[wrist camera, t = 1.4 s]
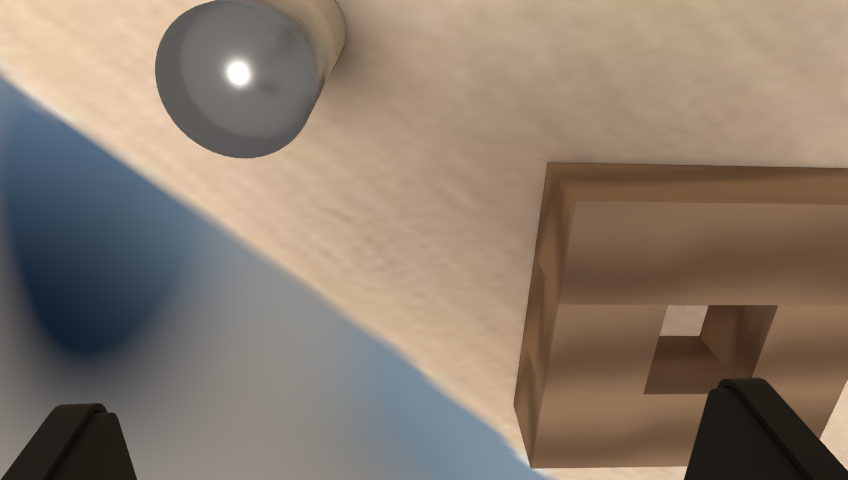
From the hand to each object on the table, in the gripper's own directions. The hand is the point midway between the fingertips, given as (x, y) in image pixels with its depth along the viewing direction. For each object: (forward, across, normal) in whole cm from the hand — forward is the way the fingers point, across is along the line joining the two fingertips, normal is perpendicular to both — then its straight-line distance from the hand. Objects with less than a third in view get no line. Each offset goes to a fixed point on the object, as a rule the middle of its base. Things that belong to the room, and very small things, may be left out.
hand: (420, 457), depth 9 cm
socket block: (+21, -15, +10) cm, 28 cm away
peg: (+21, +4, -4) cm, 21 cm away
